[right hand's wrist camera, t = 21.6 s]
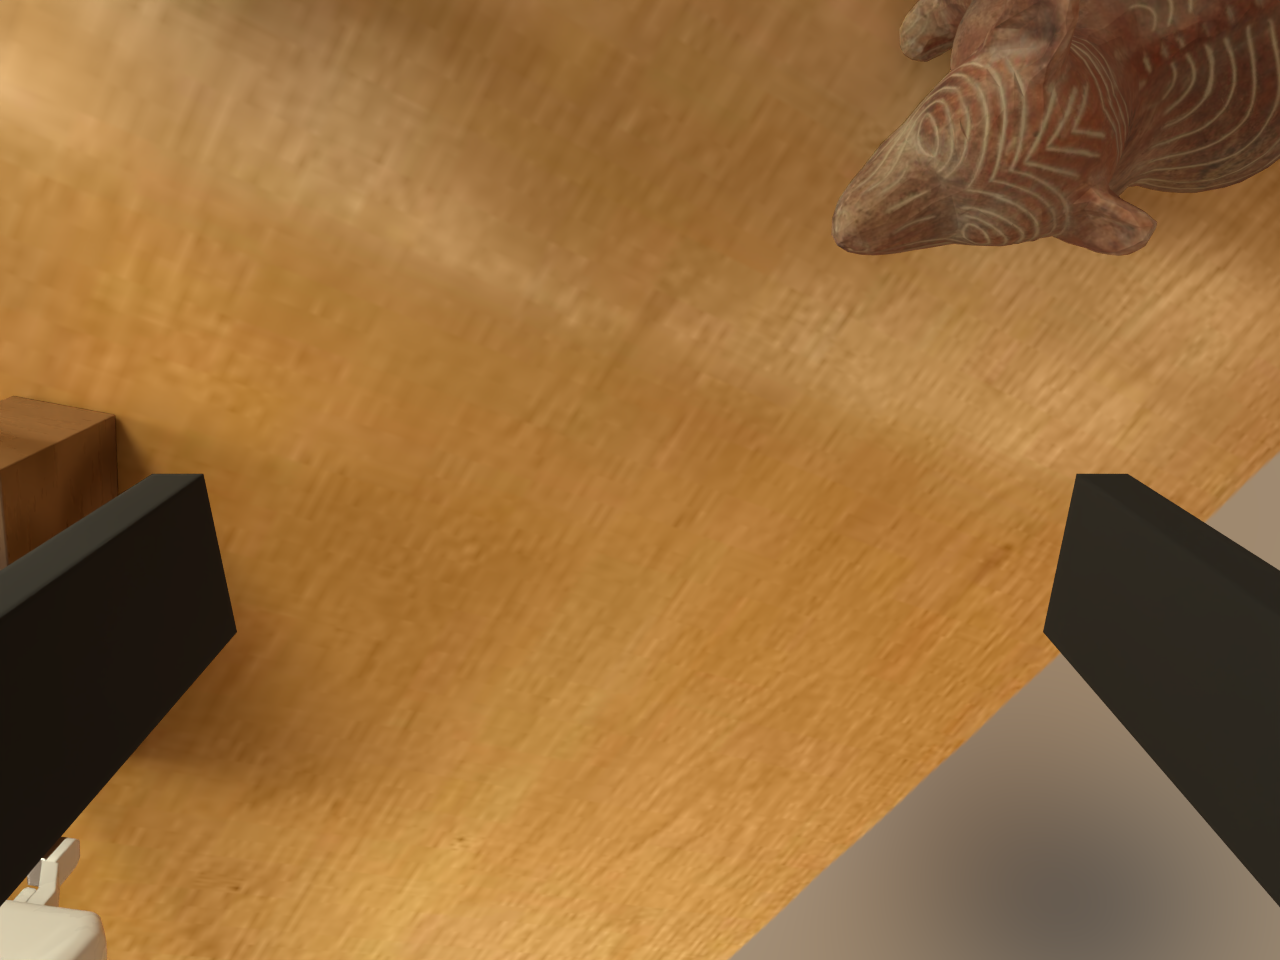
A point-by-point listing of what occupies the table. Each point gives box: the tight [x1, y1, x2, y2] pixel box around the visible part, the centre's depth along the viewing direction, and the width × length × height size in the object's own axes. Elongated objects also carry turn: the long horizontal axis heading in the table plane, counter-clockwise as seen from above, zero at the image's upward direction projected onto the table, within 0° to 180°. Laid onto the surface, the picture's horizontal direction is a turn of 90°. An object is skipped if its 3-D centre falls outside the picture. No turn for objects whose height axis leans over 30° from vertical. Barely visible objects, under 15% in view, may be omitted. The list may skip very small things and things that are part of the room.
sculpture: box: [832, 0, 1280, 255], centre depth 30 cm, size 14×25×15 cm, turn 123°
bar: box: [0, 396, 118, 571], centre depth 43 cm, size 23×5×8 cm, turn 168°
